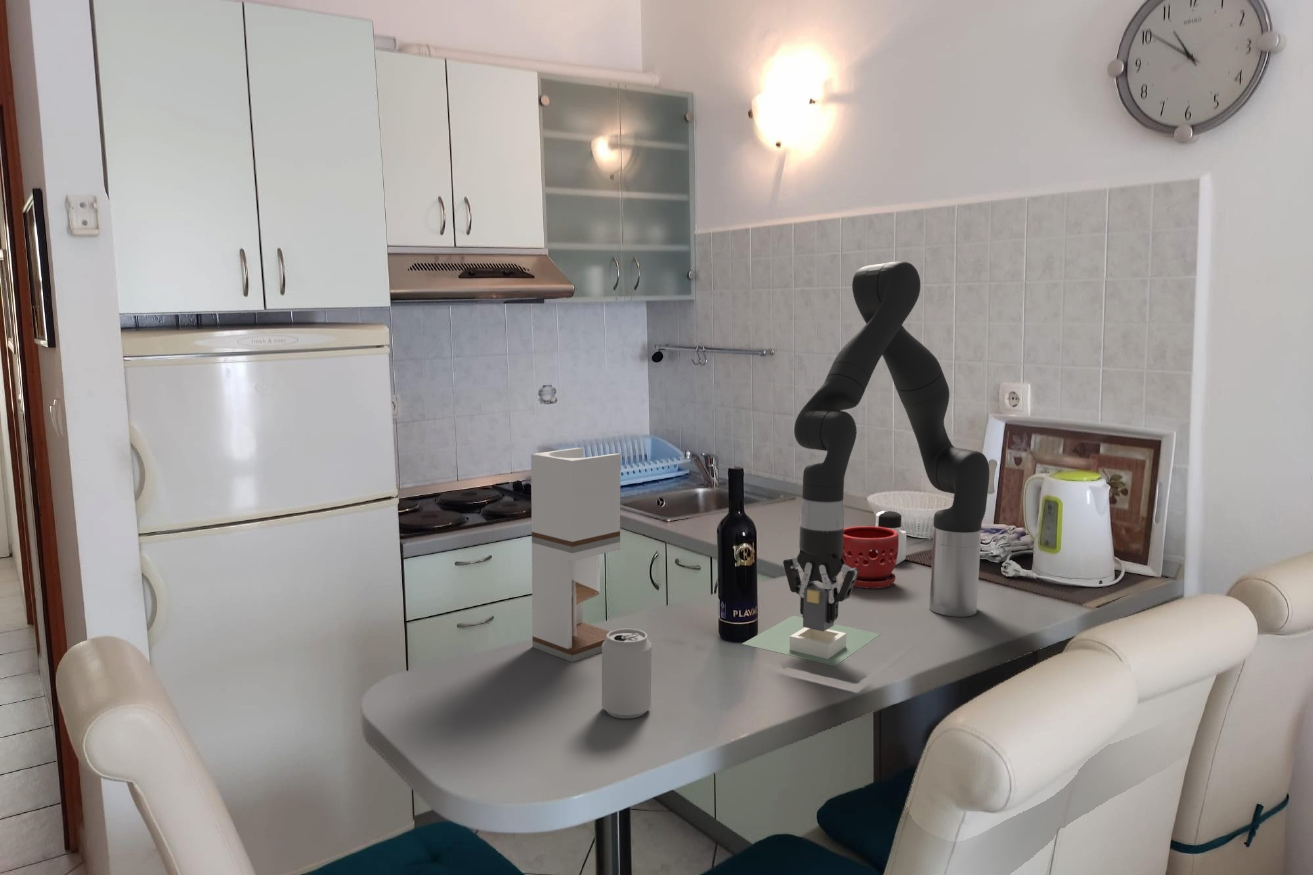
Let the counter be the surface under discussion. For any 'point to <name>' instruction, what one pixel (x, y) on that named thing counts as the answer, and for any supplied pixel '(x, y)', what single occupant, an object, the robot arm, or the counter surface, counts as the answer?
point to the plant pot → (871, 554)
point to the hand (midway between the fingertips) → (818, 619)
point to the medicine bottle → (893, 522)
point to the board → (812, 641)
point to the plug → (815, 608)
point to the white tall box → (570, 546)
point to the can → (626, 673)
